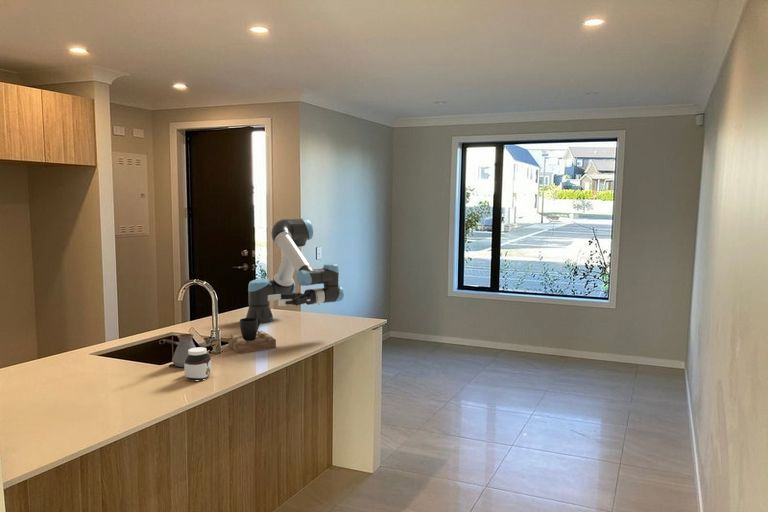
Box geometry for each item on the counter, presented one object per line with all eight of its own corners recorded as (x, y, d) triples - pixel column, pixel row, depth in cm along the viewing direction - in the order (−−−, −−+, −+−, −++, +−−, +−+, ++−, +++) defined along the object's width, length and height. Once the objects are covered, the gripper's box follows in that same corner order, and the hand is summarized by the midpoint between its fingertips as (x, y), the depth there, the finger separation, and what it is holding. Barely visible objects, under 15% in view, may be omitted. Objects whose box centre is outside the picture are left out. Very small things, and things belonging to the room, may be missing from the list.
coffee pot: (183, 360, 251) (182, 326, 250) (206, 362, 248) (205, 328, 247) (150, 375, 231) (148, 338, 229) (175, 377, 228) (173, 340, 226)
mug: (266, 336, 277) (266, 317, 276) (250, 342, 266) (250, 322, 265) (253, 334, 280) (252, 315, 279) (236, 340, 270) (236, 320, 269)
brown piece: (228, 346, 275) (228, 334, 274) (264, 340, 285) (264, 329, 284) (238, 353, 262) (238, 341, 262) (275, 347, 272) (275, 336, 271)
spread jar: (198, 383, 221) (197, 353, 220) (174, 380, 225) (172, 351, 224) (217, 374, 232) (216, 346, 231) (194, 371, 236) (193, 343, 235)
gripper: (324, 308, 278) (283, 313, 266) (303, 299, 299) (264, 303, 287) (324, 293, 277) (283, 297, 265) (303, 285, 298) (263, 288, 286)
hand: (273, 300), depth 276 cm, fingers open, 13 cm apart
